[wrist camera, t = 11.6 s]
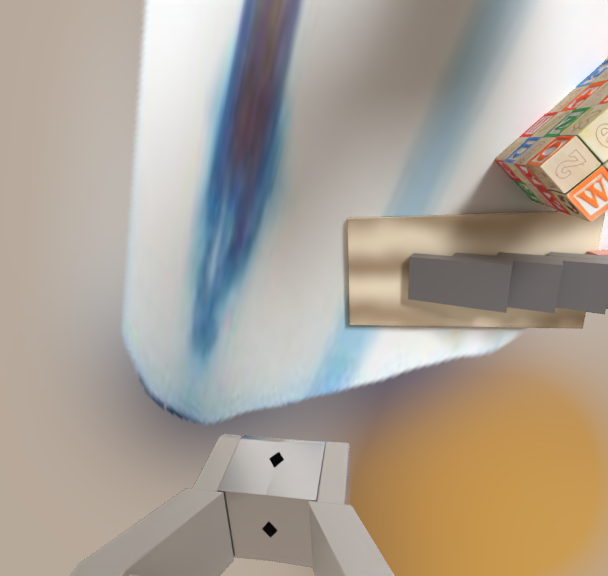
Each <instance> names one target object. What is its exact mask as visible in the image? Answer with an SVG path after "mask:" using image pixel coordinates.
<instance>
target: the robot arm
mask: <svg viewBox="0 0 608 576" xmlns="http://www.w3.org/2000/svg"><path fill="white" fill-rule="evenodd" d="M234 557H237V558H247V559H258V560H268V561H276V562H282V563H288V564H294V565H300V566H306V567H312V568H313V572H314V574H315V576H394V574H393V573H392V571H391V569H390V568H389V566H388V564H387V563H386V561H385V559H384V558H383V556H382V555H381V553H380V551H379V550H378V548H377V546H376V545H375V543H374V541H373V540H372V538H371V537H370V535H369V533H368V532H367V530H366V529H365V527H364V525H363V524H362V522H361V520H360V519H359V517H358V515H357V514H356V512H355V510H354V509H353V507H352V506H351V505H350V448H349V444H348V443H339V442H318V441H303V440H289V439H285V440H284V439H276V438H267V437H256V436H247V435H244V436H242V435H233V434H222V435H221V436H220V437H219V438H218V440H217V442H216V444H215V446H214V448H213V450H212V451H211V453H210V455H209V457H208V459H207V461H206V463H205V465H204V467H203V469H202V471H201V473H200V475H199V477H198V478H197V480H196V482H195V484H194V486H193V488H192V489H188V488H186V489H184V490H183V491H181V492H180V493H178V494H177V495H176V496H174V497H173V498H171V499H170V500H169V501H167V502H166V503H164V504H163V505H162V506H160V507H158V508H157V509H156V510H154V511H153V512H151V513H150V514H149V515H147V516H146V517H144V518H143V519H142V520H140V521H139V522H137V523H136V524H134V525H133V526H131V527H130V528H129V529H127V530H126V531H124V532H123V533H121V534H120V535H119V536H117V537H116V538H115V539H113V540H112V541H110V542H109V543H107V544H106V545H104V546H103V547H102V548H100V549H99V550H97V551H96V552H95V553H93V554H92V555H90V556H89V557H87V558H86V559H84V560H83V561H82V562H80V563H79V564H78V565H77V566H76V568H75V569H74V571H73V572H72V574H71V575H70V576H220V575H221V574H222V573H223V572H224V571H225V570H226V568H227V567H228V566H229V565H230V564H231V563H232V562H233V560H234Z"/></svg>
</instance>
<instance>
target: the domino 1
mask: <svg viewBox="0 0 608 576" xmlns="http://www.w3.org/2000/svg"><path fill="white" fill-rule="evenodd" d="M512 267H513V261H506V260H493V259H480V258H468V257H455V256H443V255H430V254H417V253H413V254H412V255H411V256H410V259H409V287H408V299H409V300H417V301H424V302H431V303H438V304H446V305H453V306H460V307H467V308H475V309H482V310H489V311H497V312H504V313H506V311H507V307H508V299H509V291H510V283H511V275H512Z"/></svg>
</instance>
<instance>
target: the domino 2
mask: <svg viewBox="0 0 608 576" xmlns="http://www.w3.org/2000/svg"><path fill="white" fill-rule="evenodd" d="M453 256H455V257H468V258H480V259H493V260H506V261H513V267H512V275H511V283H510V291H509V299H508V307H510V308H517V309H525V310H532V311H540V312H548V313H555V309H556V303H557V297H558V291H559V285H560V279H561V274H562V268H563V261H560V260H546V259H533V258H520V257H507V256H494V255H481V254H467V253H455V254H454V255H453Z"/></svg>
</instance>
